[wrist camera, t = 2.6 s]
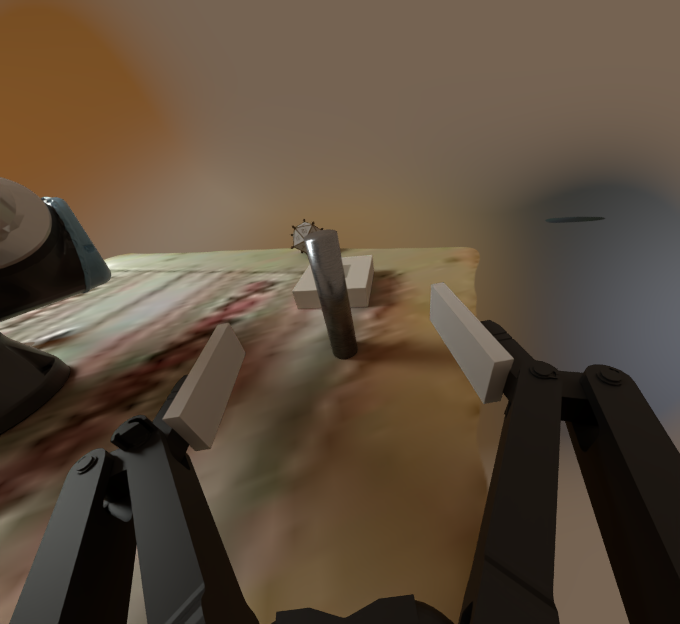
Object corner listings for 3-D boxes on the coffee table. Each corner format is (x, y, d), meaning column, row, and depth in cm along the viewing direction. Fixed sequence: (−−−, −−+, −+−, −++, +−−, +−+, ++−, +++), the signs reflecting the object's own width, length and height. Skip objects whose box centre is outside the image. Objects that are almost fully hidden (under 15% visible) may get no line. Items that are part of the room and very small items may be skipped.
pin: (330, 358, 30) (298, 243, 22) (335, 341, 33) (309, 231, 24) (355, 359, 30) (332, 239, 21) (359, 341, 32) (339, 228, 23)
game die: (311, 264, 65) (305, 228, 66) (335, 254, 60) (328, 215, 60) (285, 261, 58) (278, 221, 59) (309, 250, 53) (301, 206, 53)
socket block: (297, 308, 41) (292, 291, 39) (316, 275, 50) (312, 259, 48) (368, 306, 38) (365, 287, 36) (374, 271, 47) (372, 254, 45)
